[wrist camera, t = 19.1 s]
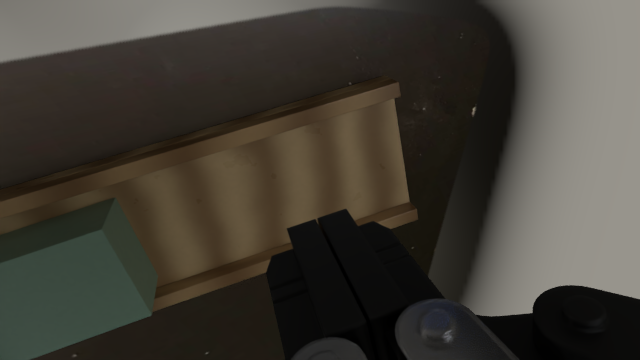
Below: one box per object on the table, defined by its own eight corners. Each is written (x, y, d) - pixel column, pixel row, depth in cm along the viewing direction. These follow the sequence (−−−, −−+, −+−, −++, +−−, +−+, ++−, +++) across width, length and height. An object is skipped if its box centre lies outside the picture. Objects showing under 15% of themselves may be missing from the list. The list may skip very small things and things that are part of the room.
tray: (25, 334, 37) (11, 361, 34) (-70, 210, 31) (-96, 230, 28) (404, 205, 41) (418, 219, 38) (384, 75, 35) (399, 81, 33)
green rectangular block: (26, 322, 35) (0, 370, 30) (-34, 245, 31) (-73, 287, 27) (158, 275, 36) (152, 315, 31) (115, 196, 32) (101, 229, 28)
